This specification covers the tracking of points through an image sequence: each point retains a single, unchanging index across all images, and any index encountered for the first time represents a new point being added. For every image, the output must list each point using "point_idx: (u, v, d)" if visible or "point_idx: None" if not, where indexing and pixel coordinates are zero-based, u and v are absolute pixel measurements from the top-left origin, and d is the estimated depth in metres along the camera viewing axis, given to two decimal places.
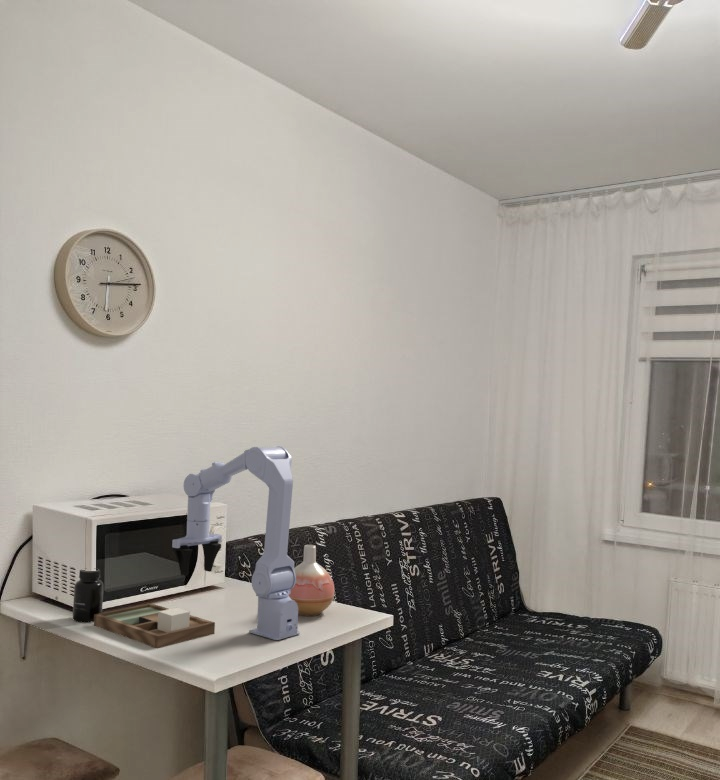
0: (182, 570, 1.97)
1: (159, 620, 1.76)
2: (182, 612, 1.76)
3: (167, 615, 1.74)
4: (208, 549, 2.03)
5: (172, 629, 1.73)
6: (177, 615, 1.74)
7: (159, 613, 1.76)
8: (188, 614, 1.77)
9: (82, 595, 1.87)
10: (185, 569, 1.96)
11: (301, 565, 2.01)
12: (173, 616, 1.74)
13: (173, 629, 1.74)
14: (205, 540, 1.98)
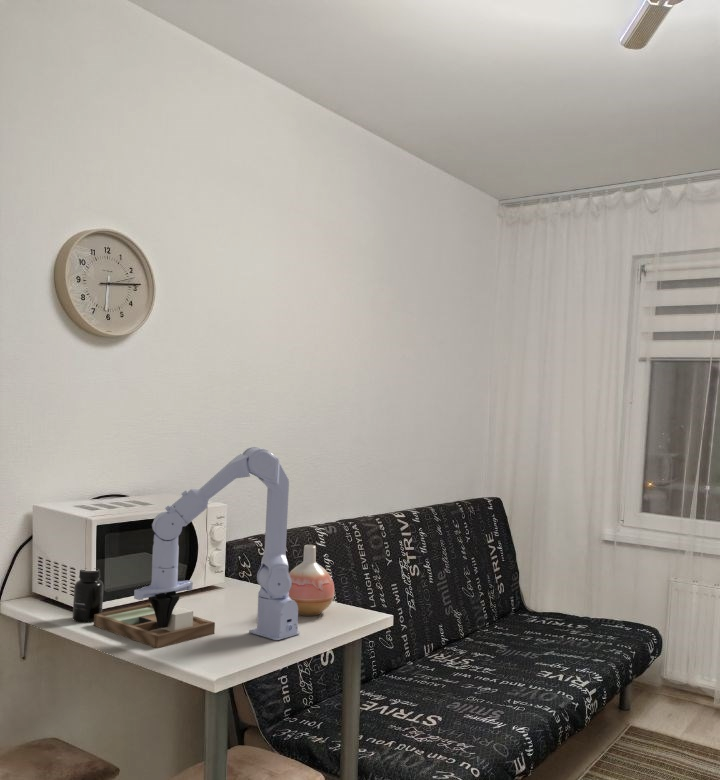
0: (159, 621, 1.74)
1: None
2: (186, 611, 1.77)
3: None
4: None
5: (176, 628, 1.74)
6: (181, 614, 1.75)
7: None
8: (192, 613, 1.78)
9: (82, 595, 1.87)
10: (162, 620, 1.73)
11: (301, 565, 2.01)
12: (177, 615, 1.74)
13: (177, 628, 1.74)
14: (173, 589, 1.73)
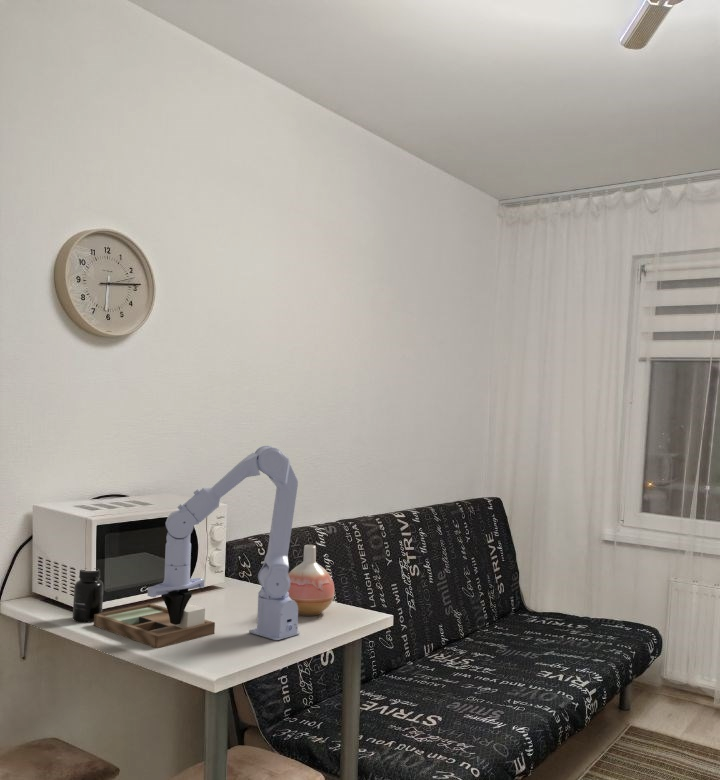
0: (172, 618, 1.77)
1: None
2: (197, 609, 1.80)
3: None
4: None
5: (188, 625, 1.77)
6: (193, 611, 1.78)
7: None
8: (203, 610, 1.80)
9: (82, 595, 1.87)
10: (175, 617, 1.76)
11: (301, 565, 2.01)
12: (189, 612, 1.77)
13: (189, 625, 1.77)
14: (185, 587, 1.75)
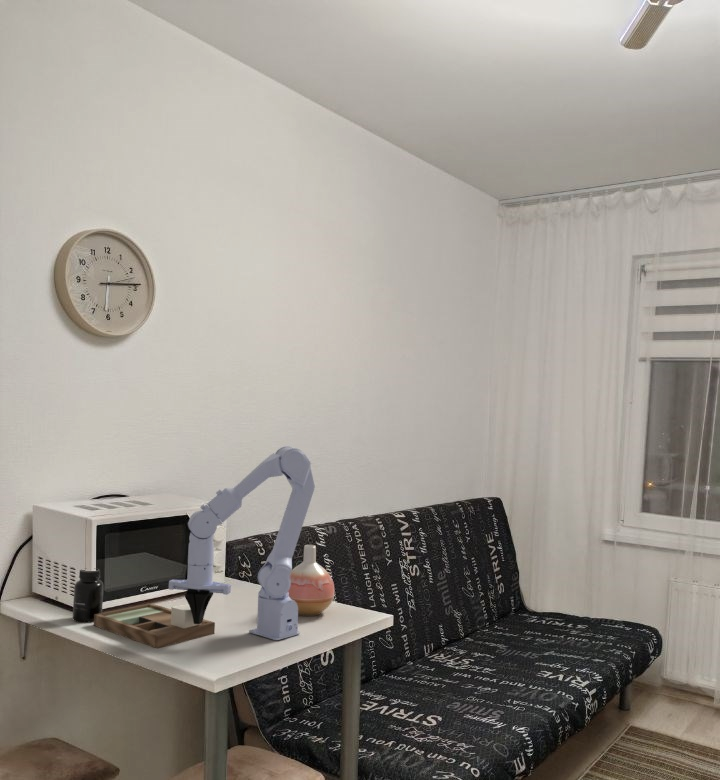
0: None
1: (173, 616, 1.80)
2: None
3: (180, 610, 1.79)
4: None
5: (185, 624, 1.78)
6: (190, 610, 1.79)
7: (172, 608, 1.80)
8: None
9: (82, 595, 1.87)
10: None
11: (301, 565, 2.01)
12: (186, 611, 1.78)
13: (186, 624, 1.78)
14: (194, 587, 1.75)
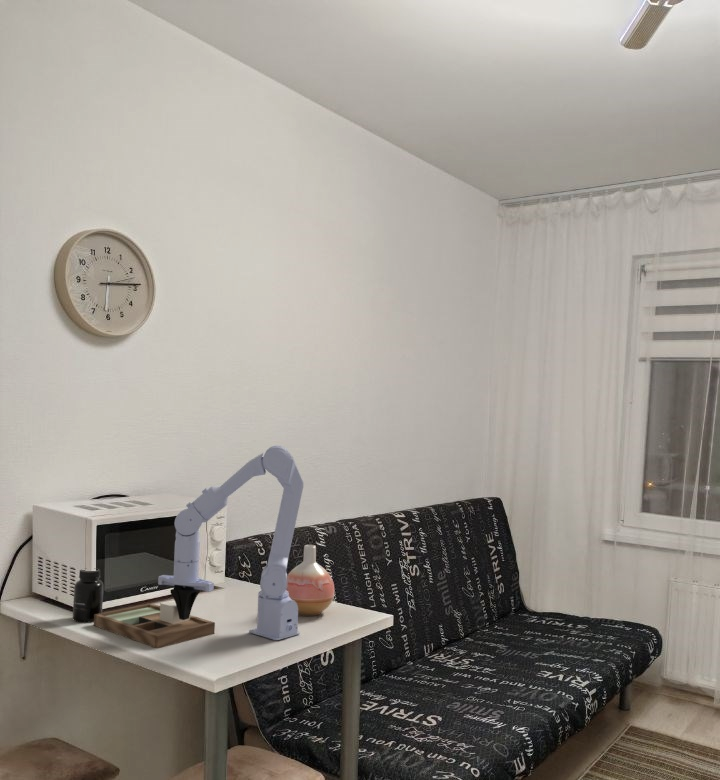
0: None
1: (161, 611, 1.84)
2: None
3: (168, 606, 1.82)
4: None
5: (174, 620, 1.81)
6: None
7: (161, 604, 1.84)
8: None
9: (82, 595, 1.87)
10: None
11: (301, 565, 2.01)
12: (175, 607, 1.81)
13: (175, 620, 1.81)
14: (178, 583, 1.79)
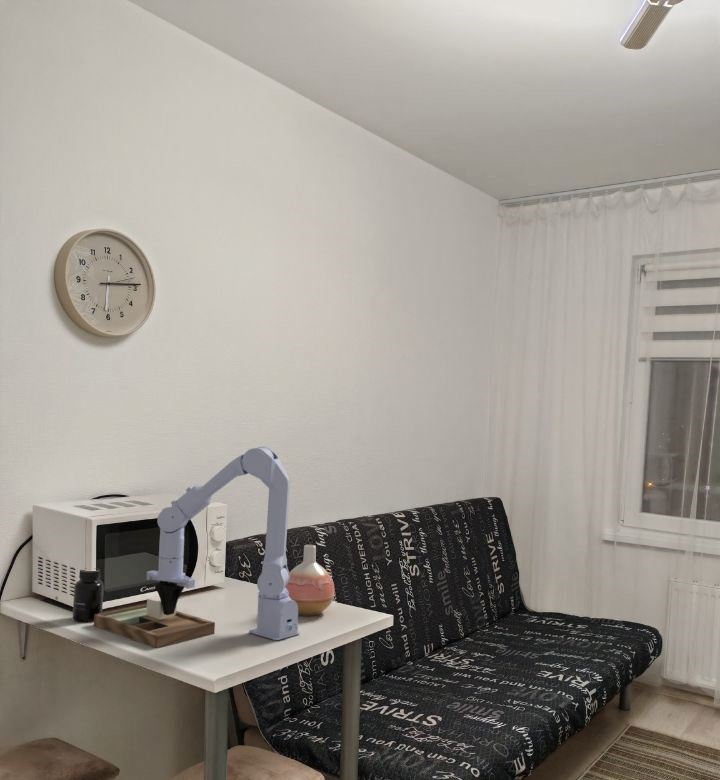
0: None
1: (148, 607, 1.87)
2: None
3: (155, 601, 1.86)
4: None
5: (160, 615, 1.85)
6: None
7: (148, 600, 1.88)
8: None
9: (82, 595, 1.87)
10: None
11: (301, 565, 2.01)
12: None
13: (161, 615, 1.85)
14: (161, 579, 1.83)
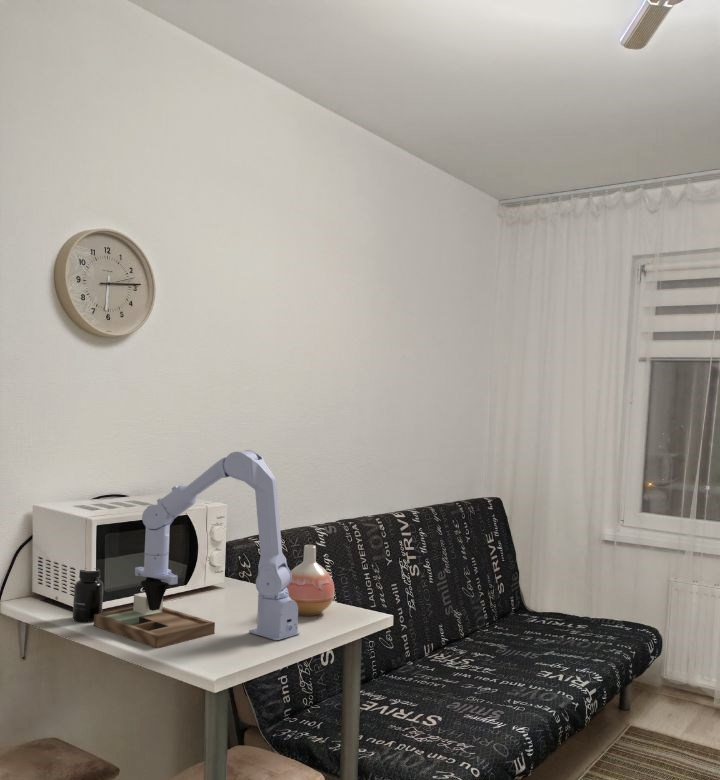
0: None
1: (135, 603, 1.91)
2: None
3: (141, 597, 1.90)
4: None
5: (146, 610, 1.89)
6: None
7: (135, 596, 1.91)
8: None
9: (82, 595, 1.87)
10: None
11: (301, 565, 2.01)
12: None
13: (147, 610, 1.89)
14: (145, 575, 1.86)
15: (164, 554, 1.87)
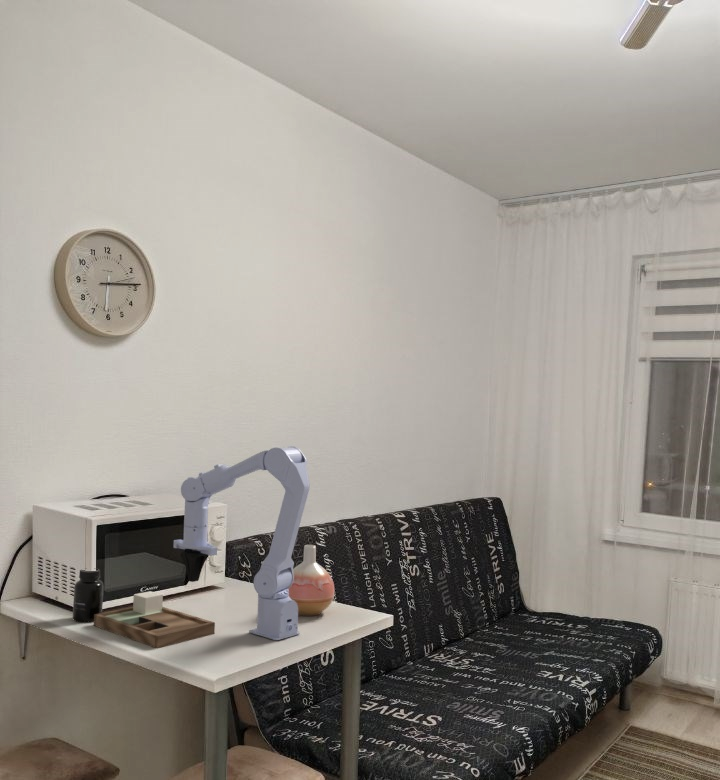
0: None
1: (135, 602, 1.91)
2: (155, 595, 1.92)
3: (141, 597, 1.90)
4: None
5: (146, 610, 1.89)
6: (151, 597, 1.90)
7: (134, 596, 1.91)
8: (161, 596, 1.92)
9: (82, 595, 1.87)
10: None
11: (301, 565, 2.01)
12: (147, 598, 1.89)
13: (147, 610, 1.89)
14: (185, 546, 1.89)
15: (203, 526, 1.90)
